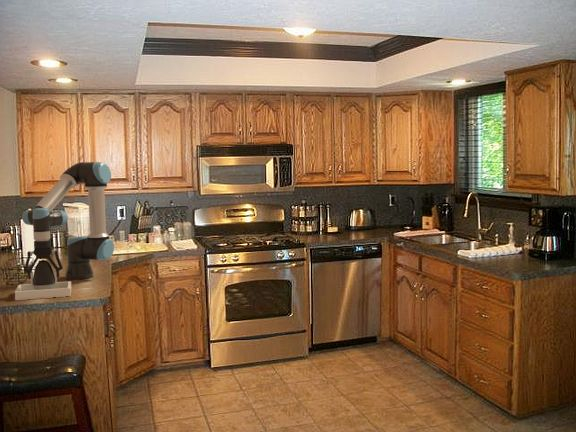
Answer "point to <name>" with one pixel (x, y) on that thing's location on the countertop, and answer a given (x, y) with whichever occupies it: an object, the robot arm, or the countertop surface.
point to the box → (43, 291)
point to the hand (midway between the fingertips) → (44, 285)
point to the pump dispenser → (43, 276)
